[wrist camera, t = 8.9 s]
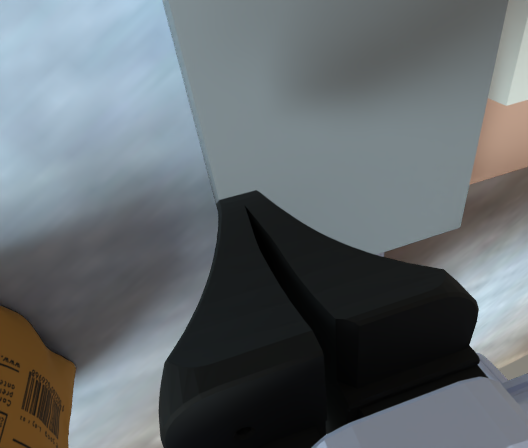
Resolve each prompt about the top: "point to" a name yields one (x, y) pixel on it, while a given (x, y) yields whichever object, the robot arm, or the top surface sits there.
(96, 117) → the top surface
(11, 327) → the coffee package
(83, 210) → the top surface
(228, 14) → the grey flat block
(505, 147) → the mat
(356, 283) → the robot arm
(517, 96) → the cream rectangular block
